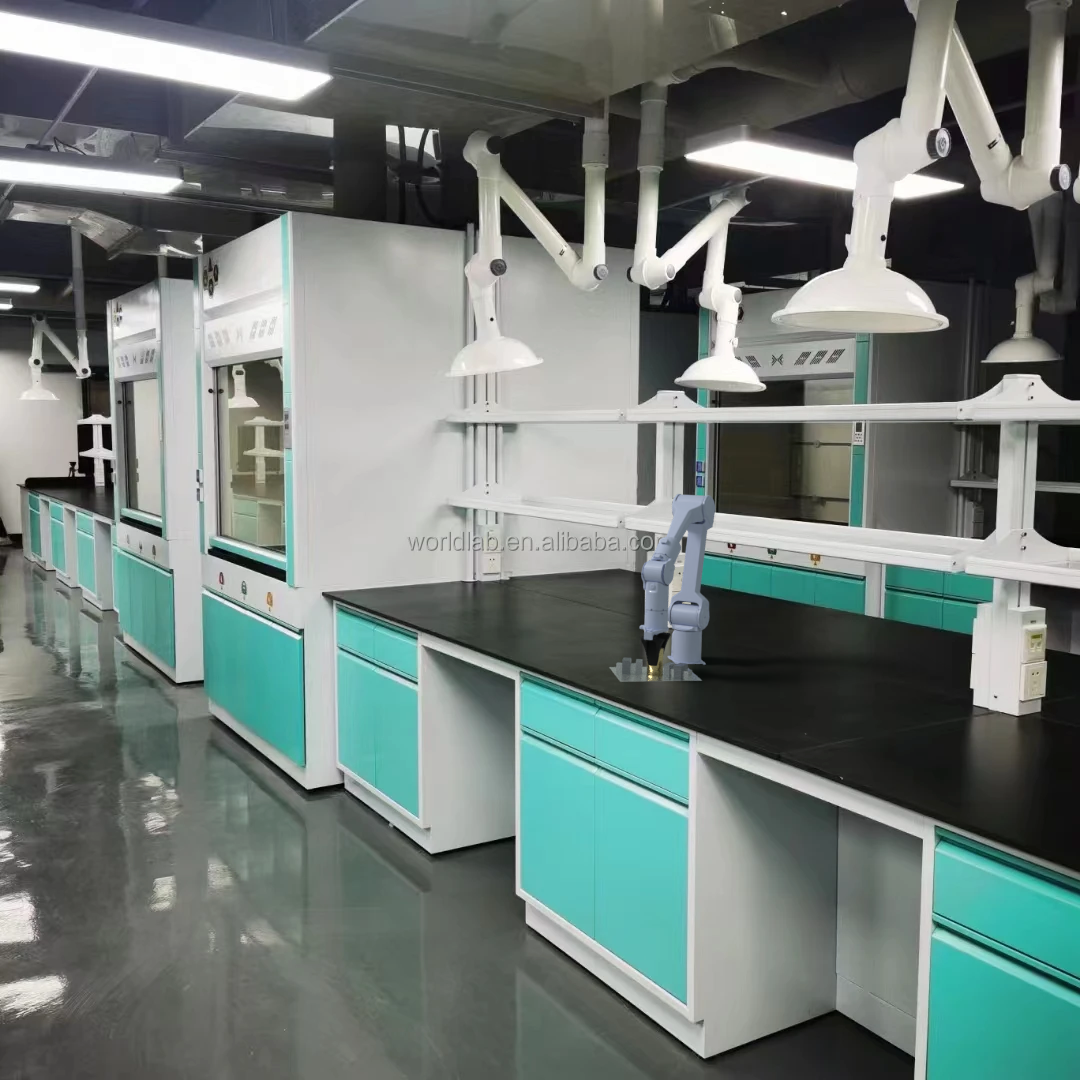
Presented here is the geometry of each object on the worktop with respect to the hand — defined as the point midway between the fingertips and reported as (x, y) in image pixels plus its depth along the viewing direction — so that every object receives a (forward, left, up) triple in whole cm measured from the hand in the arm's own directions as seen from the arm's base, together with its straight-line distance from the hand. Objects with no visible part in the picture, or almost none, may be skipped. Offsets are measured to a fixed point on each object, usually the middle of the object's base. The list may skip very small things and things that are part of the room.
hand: (655, 663), depth 252 cm
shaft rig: (0, 0, -3) cm, 3 cm away
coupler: (0, 0, -3) cm, 3 cm away
